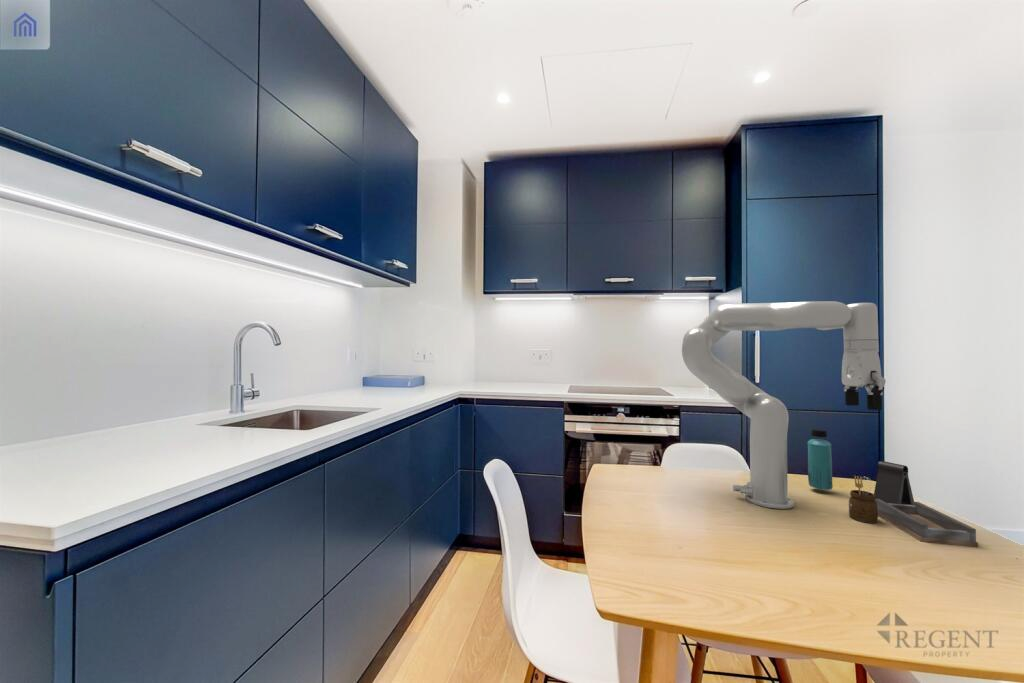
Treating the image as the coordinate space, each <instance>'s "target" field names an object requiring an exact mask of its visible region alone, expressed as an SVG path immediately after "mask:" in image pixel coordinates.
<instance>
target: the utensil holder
mask: <svg viewBox="0 0 1024 683" xmlns="http://www.w3.org/2000/svg"><path fill="white" fill-rule="evenodd" d="M853 476H854V484H855V485H854V486H855V487H856V488H858V489H852V490H850V492H849V496H850V497H849V498H848V516H849V517H850V518H851V519H853V520H856V521H859V522H863V523H867V524H874V523H877V522H878V520H879V518H878V517H879V516H878V507H877V503H876V502H875V501H874V500H876V497H875V495H874V492H871V491H869V489H866V490H865V489H863V488H864V483H863V481H866V480H865V479H869V477H866V476H863V477H862V476H858V475H857V476H856V475H853ZM869 481H870V482H869ZM869 484H870V485H869ZM867 486H870V487H869V488H872V480H871V479H869V480H867Z"/></svg>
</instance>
